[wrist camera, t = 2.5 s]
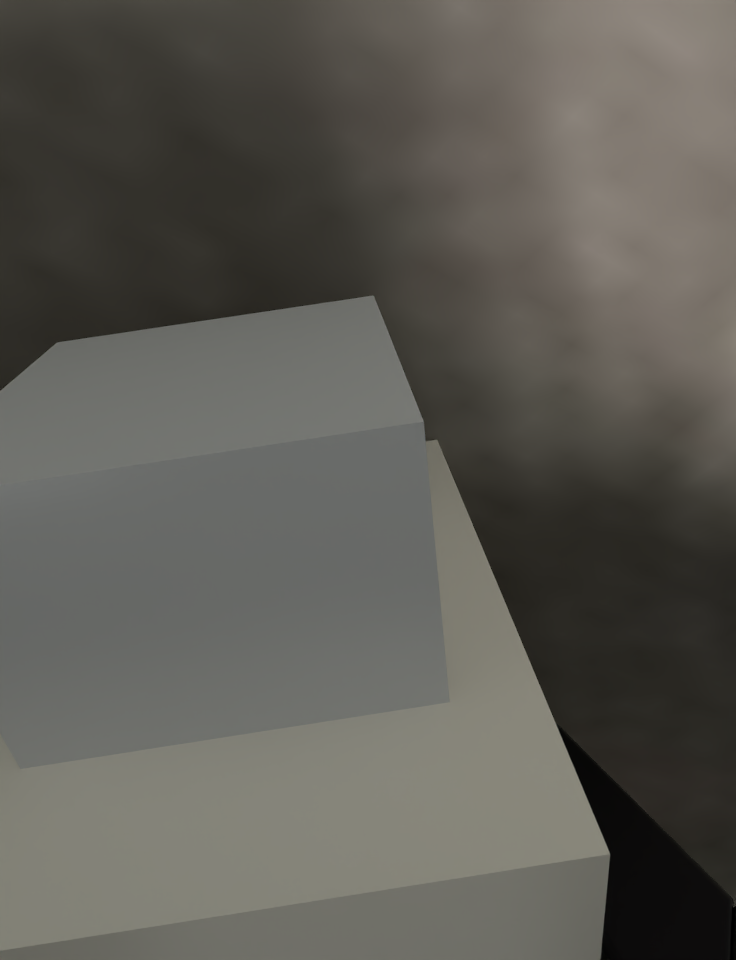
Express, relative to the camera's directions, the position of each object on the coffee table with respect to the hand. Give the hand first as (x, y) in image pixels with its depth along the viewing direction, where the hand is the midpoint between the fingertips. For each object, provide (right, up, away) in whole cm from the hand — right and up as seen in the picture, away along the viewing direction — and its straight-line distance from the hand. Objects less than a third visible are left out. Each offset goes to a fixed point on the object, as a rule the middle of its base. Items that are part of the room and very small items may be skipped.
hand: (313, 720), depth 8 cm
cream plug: (0, +1, +1) cm, 1 cm away
